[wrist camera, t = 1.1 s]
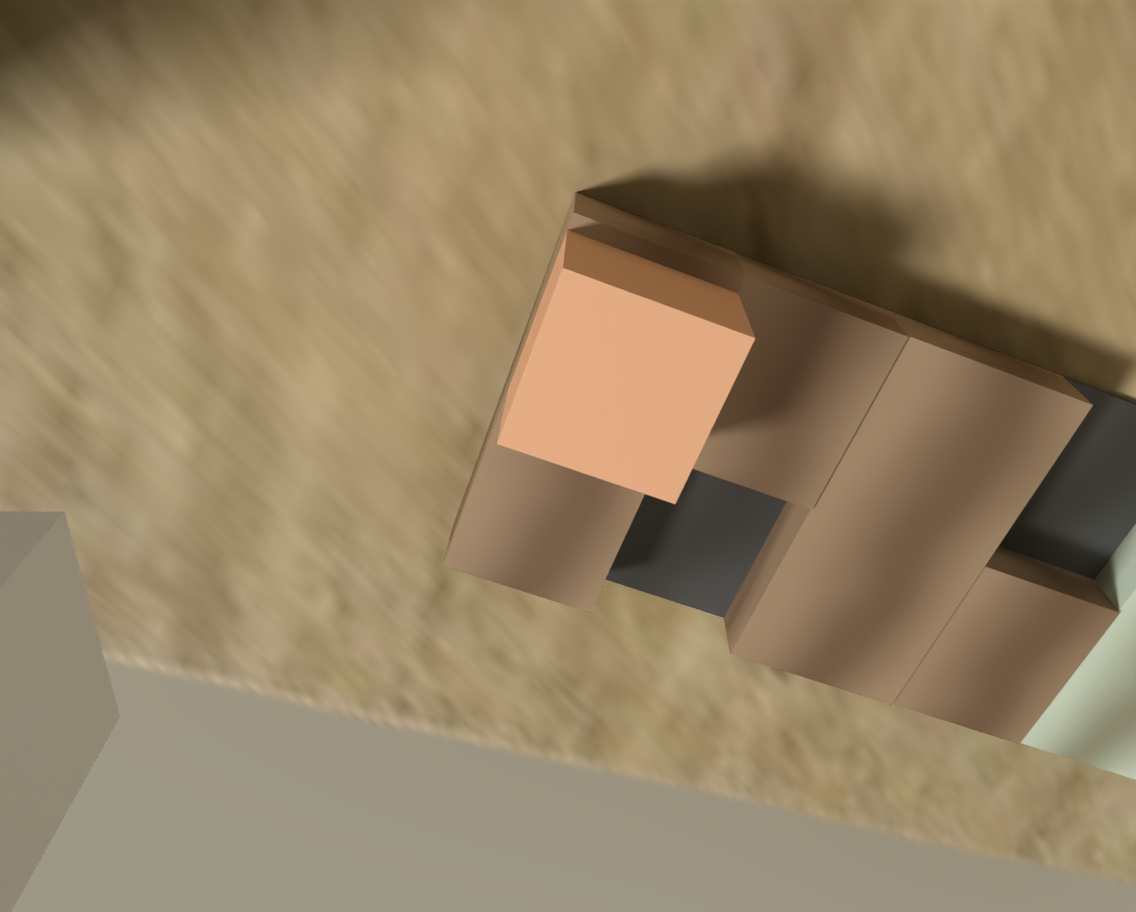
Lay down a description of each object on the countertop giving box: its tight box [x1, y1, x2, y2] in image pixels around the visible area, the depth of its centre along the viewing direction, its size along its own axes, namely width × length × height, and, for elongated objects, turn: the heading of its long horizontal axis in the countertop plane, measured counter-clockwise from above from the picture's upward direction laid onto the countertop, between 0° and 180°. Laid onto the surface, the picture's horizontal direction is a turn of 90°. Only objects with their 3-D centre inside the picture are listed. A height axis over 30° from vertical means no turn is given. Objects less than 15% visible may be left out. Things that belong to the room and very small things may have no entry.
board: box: [443, 193, 1136, 780], centre depth 31 cm, size 27×12×5 cm, turn 70°
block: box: [497, 230, 755, 504], centre depth 27 cm, size 5×5×4 cm
